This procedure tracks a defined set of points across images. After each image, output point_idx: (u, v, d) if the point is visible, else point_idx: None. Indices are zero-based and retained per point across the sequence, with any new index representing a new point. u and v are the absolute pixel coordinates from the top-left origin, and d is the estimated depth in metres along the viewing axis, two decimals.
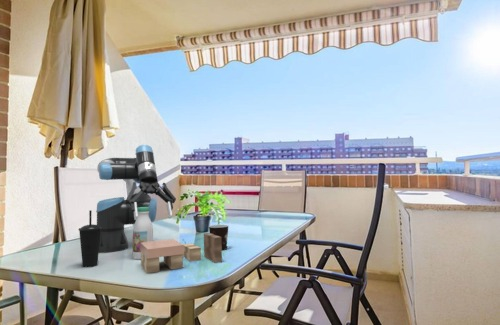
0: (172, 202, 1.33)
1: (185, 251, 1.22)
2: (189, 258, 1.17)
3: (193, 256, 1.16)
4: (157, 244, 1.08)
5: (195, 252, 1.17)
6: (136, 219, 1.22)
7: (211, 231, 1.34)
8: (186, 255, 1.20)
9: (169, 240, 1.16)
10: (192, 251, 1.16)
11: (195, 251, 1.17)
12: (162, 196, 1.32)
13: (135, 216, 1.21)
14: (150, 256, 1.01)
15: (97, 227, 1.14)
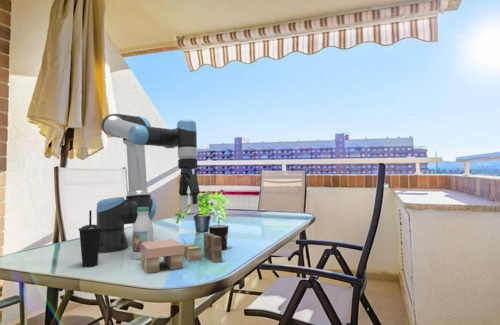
0: None
1: (185, 251, 1.22)
2: (189, 258, 1.17)
3: (193, 256, 1.16)
4: (157, 244, 1.08)
5: (195, 252, 1.17)
6: None
7: (211, 231, 1.34)
8: (186, 255, 1.20)
9: (169, 240, 1.16)
10: (192, 251, 1.16)
11: (195, 251, 1.17)
12: (185, 187, 1.28)
13: (196, 211, 1.17)
14: (150, 256, 1.01)
15: (97, 227, 1.14)
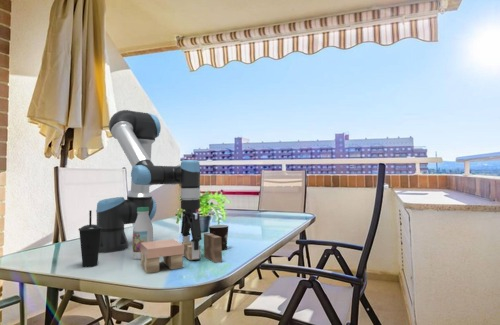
0: None
1: (184, 249, 1.22)
2: (188, 256, 1.17)
3: None
4: (157, 244, 1.08)
5: None
6: (192, 258, 1.16)
7: (211, 231, 1.34)
8: (186, 253, 1.20)
9: (169, 240, 1.16)
10: (191, 249, 1.17)
11: None
12: (188, 227, 1.26)
13: (197, 257, 1.17)
14: (150, 256, 1.01)
15: (97, 227, 1.14)
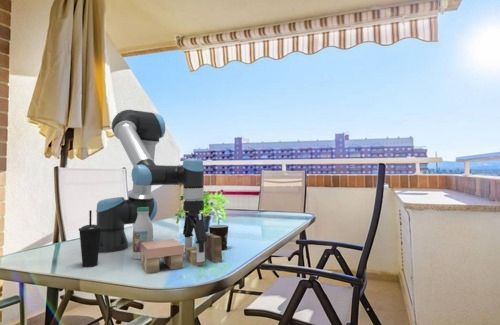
0: None
1: (188, 255, 1.15)
2: (192, 262, 1.10)
3: (196, 260, 1.10)
4: (157, 244, 1.08)
5: None
6: (197, 261, 1.09)
7: (211, 231, 1.34)
8: (189, 259, 1.14)
9: (169, 240, 1.16)
10: (195, 255, 1.10)
11: None
12: (190, 229, 1.20)
13: (202, 260, 1.09)
14: (150, 256, 1.01)
15: (97, 227, 1.14)
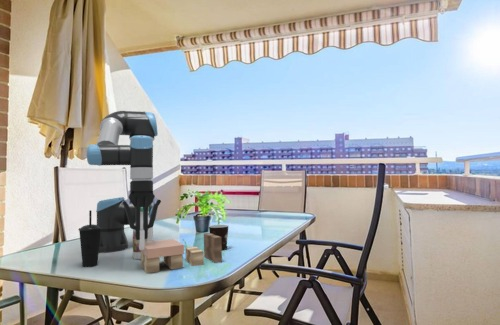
0: None
1: (188, 255, 1.15)
2: (191, 262, 1.10)
3: (195, 260, 1.10)
4: (157, 244, 1.09)
5: (197, 257, 1.10)
6: (142, 249, 1.05)
7: (211, 231, 1.34)
8: (189, 259, 1.14)
9: (169, 240, 1.16)
10: (194, 255, 1.10)
11: (197, 255, 1.10)
12: None
13: None
14: (150, 256, 1.01)
15: (97, 227, 1.14)
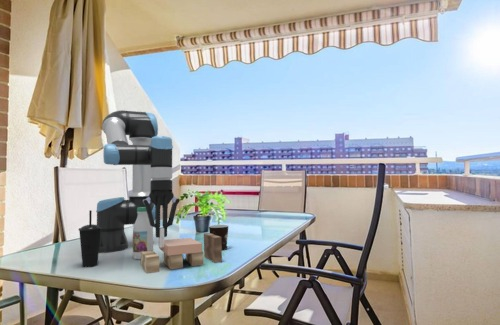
0: None
1: (188, 255, 1.15)
2: (191, 262, 1.10)
3: (195, 260, 1.10)
4: (176, 242, 1.11)
5: (197, 257, 1.10)
6: None
7: (211, 231, 1.34)
8: (189, 259, 1.14)
9: (187, 239, 1.19)
10: (194, 255, 1.10)
11: (197, 255, 1.10)
12: None
13: None
14: (170, 253, 1.04)
15: (97, 227, 1.14)
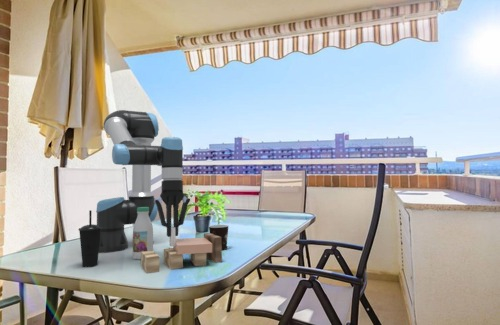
0: (165, 226, 1.11)
1: (192, 254, 1.15)
2: (194, 262, 1.10)
3: (198, 260, 1.09)
4: (188, 241, 1.13)
5: (200, 256, 1.10)
6: None
7: (211, 231, 1.34)
8: (192, 258, 1.13)
9: (200, 238, 1.20)
10: (196, 254, 1.09)
11: (200, 255, 1.10)
12: None
13: None
14: (180, 252, 1.05)
15: (97, 227, 1.14)
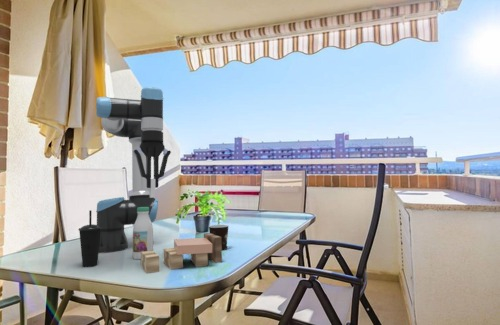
0: (145, 178, 1.09)
1: (193, 255, 1.14)
2: (195, 263, 1.10)
3: (199, 261, 1.09)
4: (188, 241, 1.12)
5: (201, 257, 1.09)
6: (153, 197, 1.08)
7: (211, 231, 1.34)
8: (193, 259, 1.13)
9: (201, 238, 1.19)
10: (198, 255, 1.09)
11: (201, 255, 1.09)
12: None
13: None
14: (179, 252, 1.05)
15: (97, 227, 1.14)
